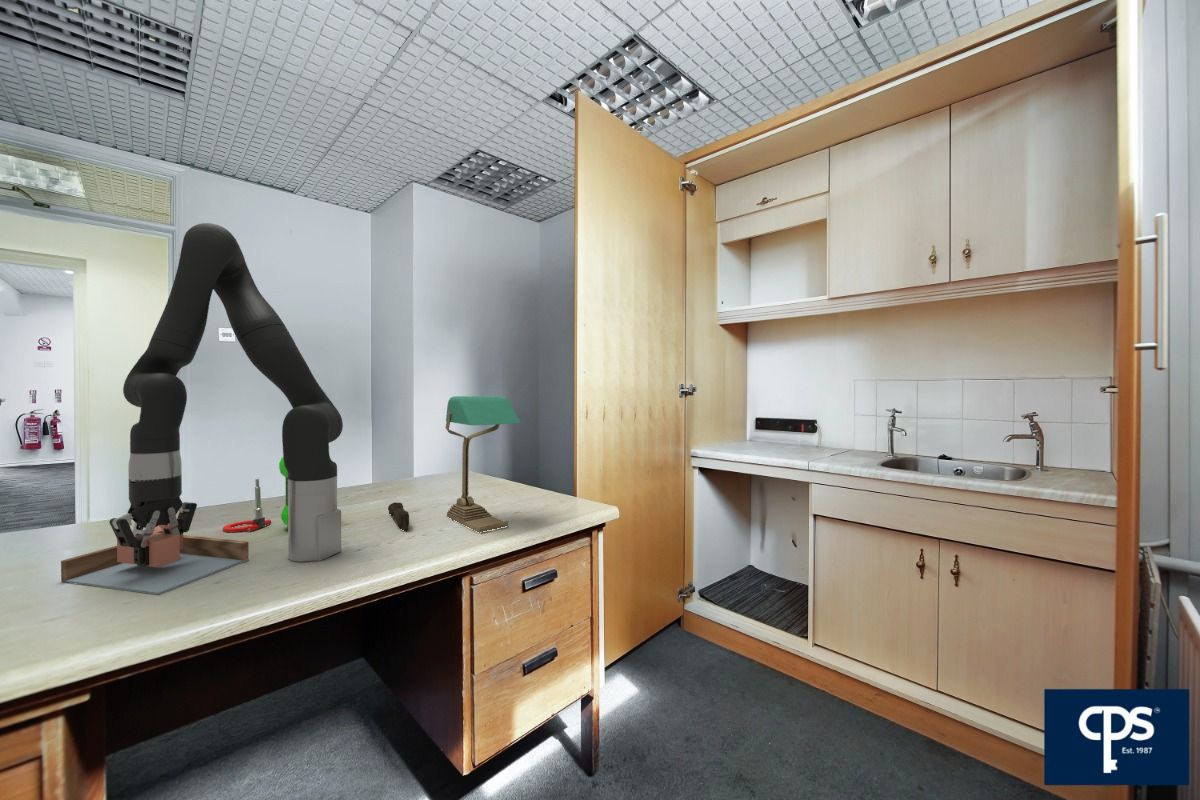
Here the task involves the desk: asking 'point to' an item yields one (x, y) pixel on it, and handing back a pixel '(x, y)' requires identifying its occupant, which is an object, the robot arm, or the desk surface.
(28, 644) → the desk surface
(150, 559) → the bracket
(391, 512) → the dark brown rough bar
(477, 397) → the banker's lamp
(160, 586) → the rubber mat
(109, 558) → the walnut corner walls
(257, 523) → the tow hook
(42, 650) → the desk surface
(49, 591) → the desk surface
